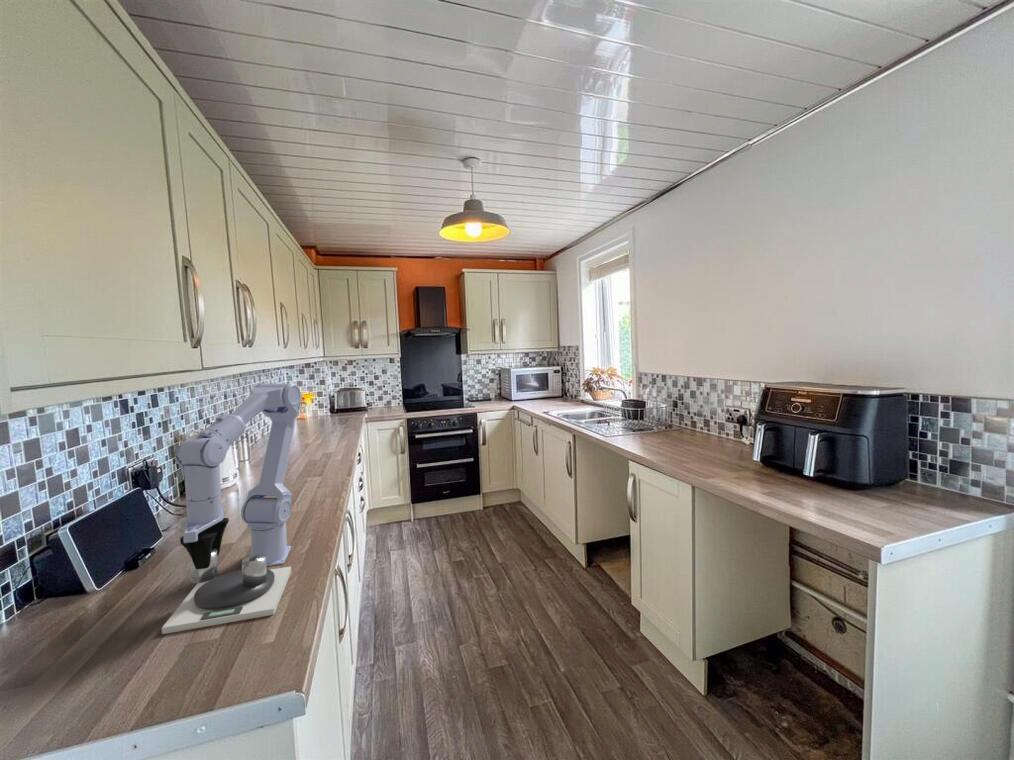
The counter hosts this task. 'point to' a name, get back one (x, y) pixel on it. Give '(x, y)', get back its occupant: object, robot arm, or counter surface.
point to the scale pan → (229, 591)
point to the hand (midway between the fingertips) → (207, 562)
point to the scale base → (198, 617)
